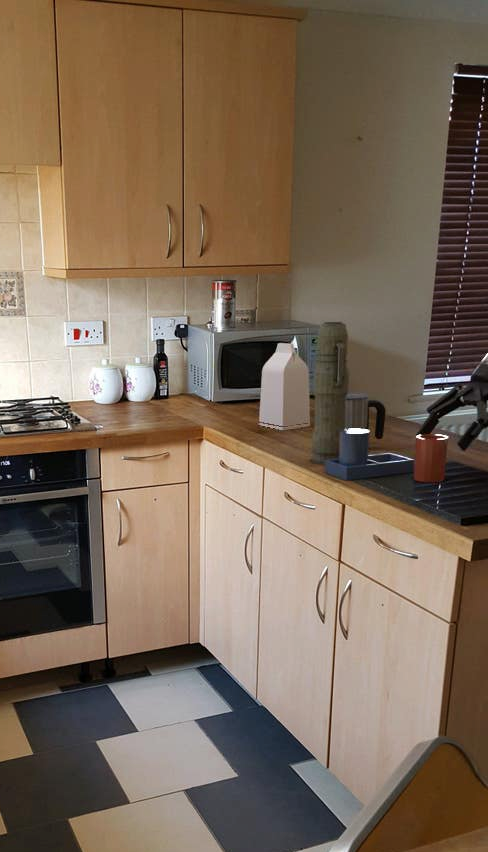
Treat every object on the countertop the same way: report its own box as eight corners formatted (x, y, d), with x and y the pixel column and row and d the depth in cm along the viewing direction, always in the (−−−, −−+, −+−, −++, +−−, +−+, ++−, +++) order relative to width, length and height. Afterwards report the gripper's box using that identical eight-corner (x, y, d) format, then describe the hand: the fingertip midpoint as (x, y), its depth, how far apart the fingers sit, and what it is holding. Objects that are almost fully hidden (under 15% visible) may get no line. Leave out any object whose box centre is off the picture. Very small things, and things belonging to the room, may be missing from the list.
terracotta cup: (450, 480, 204) (454, 437, 201) (426, 483, 202) (429, 440, 199) (431, 474, 211) (434, 433, 207) (407, 477, 208) (410, 436, 205)
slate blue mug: (373, 473, 212) (375, 431, 208) (348, 476, 209) (350, 434, 206) (357, 467, 218) (358, 427, 215) (332, 470, 215) (334, 430, 212)
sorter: (413, 472, 214) (414, 459, 213) (346, 480, 208) (346, 467, 207) (389, 464, 223) (390, 452, 222) (324, 472, 216) (324, 460, 215)
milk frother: (345, 453, 238) (347, 398, 234) (315, 444, 252) (316, 392, 247) (389, 448, 243) (392, 394, 238) (357, 440, 257) (359, 388, 252)
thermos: (331, 455, 237) (335, 320, 225) (355, 463, 226) (361, 322, 215) (302, 458, 234) (305, 322, 222) (325, 466, 223) (329, 324, 212)
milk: (258, 425, 286) (259, 344, 278) (285, 422, 292) (287, 341, 284) (282, 430, 277) (283, 345, 268) (310, 426, 282) (312, 343, 274)
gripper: (542, 388, 197) (487, 461, 196) (462, 378, 219) (411, 444, 217) (528, 366, 193) (471, 440, 192) (447, 358, 215) (395, 425, 214)
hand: (439, 443), depth 205 cm, fingers open, 13 cm apart
